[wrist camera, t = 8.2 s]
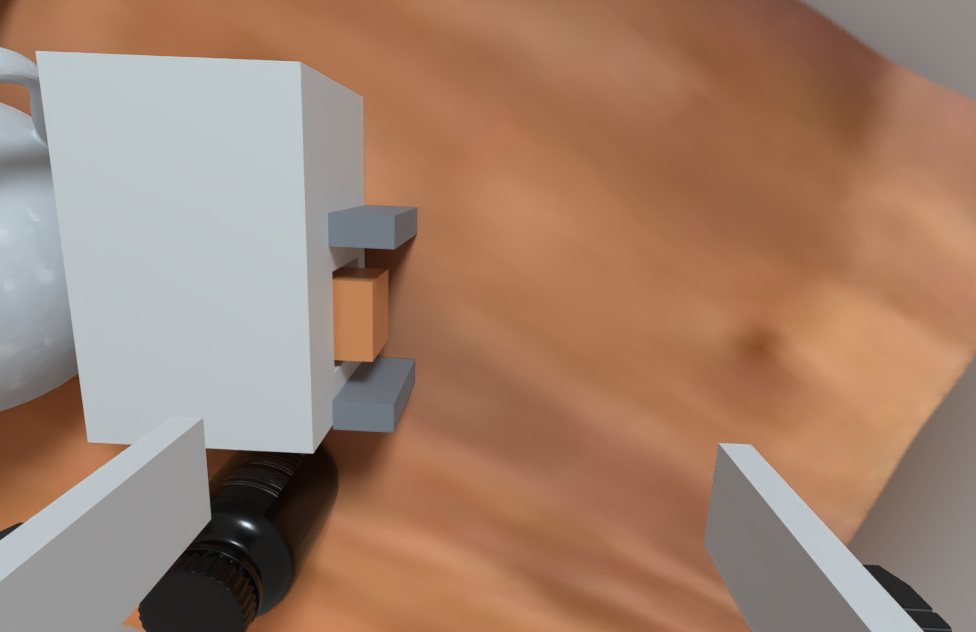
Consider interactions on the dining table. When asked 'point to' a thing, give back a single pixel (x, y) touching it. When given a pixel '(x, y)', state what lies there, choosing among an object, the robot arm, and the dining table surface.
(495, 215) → the dining table surface
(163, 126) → the box
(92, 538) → the robot arm
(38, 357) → the teapot
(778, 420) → the dining table surface
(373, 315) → the block
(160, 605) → the supplement bottle
